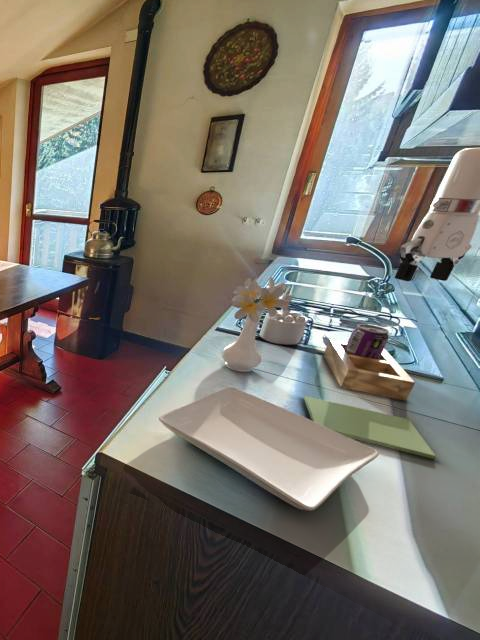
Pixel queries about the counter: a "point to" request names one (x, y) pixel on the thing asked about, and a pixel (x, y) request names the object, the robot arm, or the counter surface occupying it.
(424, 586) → the counter surface
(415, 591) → the counter surface
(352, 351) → the beverage can
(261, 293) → the flower vase
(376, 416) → the mat
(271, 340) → the lumpy-topped squat cylinder
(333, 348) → the can rack
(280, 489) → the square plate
